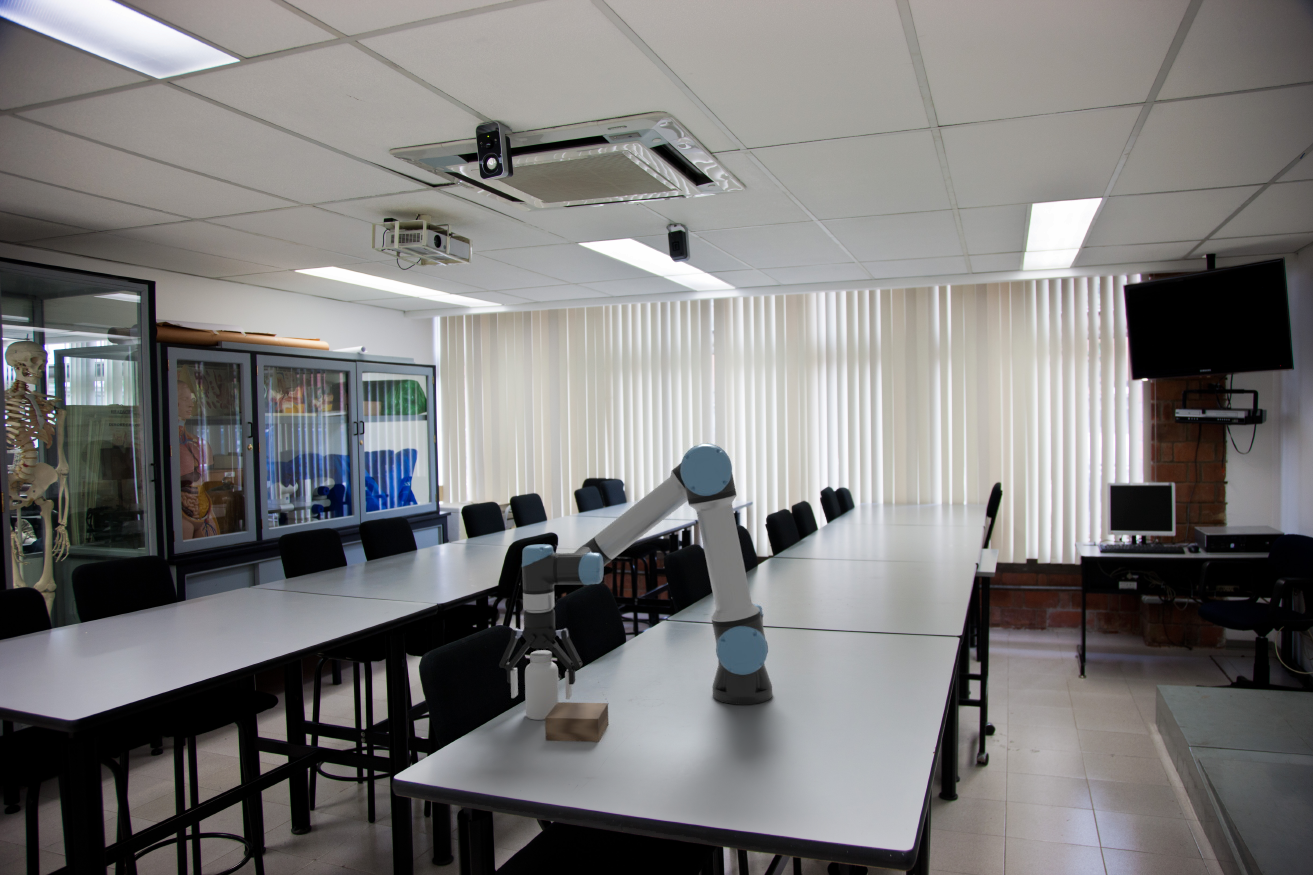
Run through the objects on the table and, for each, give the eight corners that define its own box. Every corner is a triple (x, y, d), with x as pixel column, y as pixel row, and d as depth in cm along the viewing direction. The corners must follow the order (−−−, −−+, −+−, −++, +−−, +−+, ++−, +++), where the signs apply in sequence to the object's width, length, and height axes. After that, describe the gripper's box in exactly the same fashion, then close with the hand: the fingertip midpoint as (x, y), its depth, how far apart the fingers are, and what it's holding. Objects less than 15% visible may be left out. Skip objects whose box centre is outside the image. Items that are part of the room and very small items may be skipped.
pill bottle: (553, 721, 180) (550, 657, 180) (520, 720, 181) (518, 657, 181) (563, 709, 188) (561, 648, 188) (532, 708, 189) (530, 647, 189)
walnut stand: (608, 724, 176) (607, 702, 176) (598, 741, 167) (598, 718, 167) (558, 723, 178) (557, 702, 178) (545, 740, 168) (545, 717, 168)
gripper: (592, 605, 186) (595, 692, 186) (495, 605, 190) (497, 690, 190) (585, 612, 179) (588, 703, 179) (484, 612, 183) (486, 700, 183)
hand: (541, 696), depth 185 cm, fingers open, 13 cm apart
